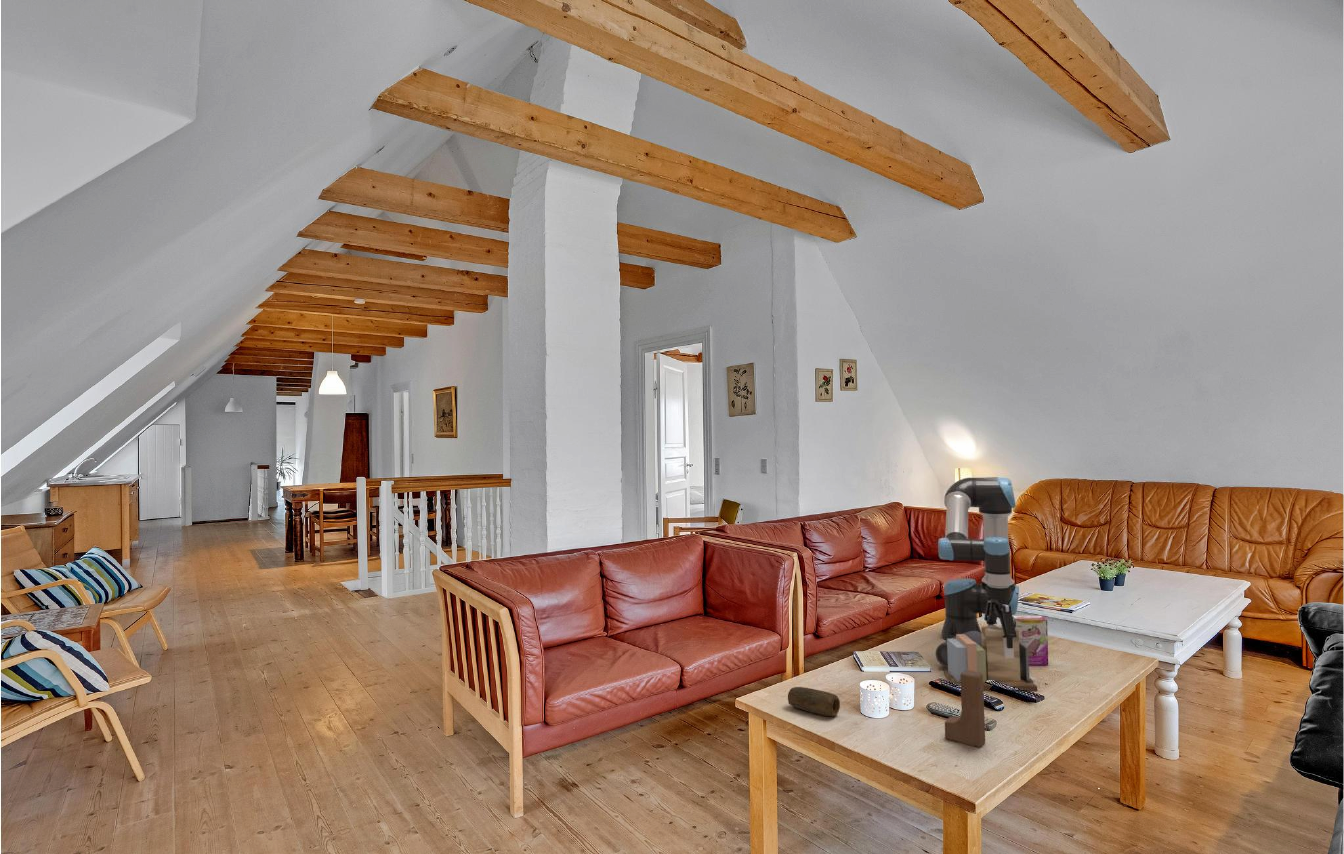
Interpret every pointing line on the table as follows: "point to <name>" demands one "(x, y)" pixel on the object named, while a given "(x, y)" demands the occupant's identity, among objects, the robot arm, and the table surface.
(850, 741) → the table surface
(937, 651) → the bluetooth speaker
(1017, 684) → the shelf
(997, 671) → the tan rectangular block
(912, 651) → the table surface
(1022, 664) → the bookend
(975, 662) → the book row
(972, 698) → the wooden block
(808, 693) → the portable cylindrical speaker
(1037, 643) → the candy bar box
